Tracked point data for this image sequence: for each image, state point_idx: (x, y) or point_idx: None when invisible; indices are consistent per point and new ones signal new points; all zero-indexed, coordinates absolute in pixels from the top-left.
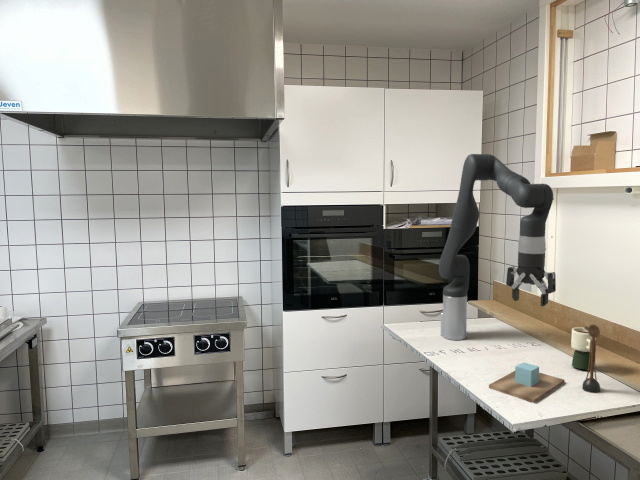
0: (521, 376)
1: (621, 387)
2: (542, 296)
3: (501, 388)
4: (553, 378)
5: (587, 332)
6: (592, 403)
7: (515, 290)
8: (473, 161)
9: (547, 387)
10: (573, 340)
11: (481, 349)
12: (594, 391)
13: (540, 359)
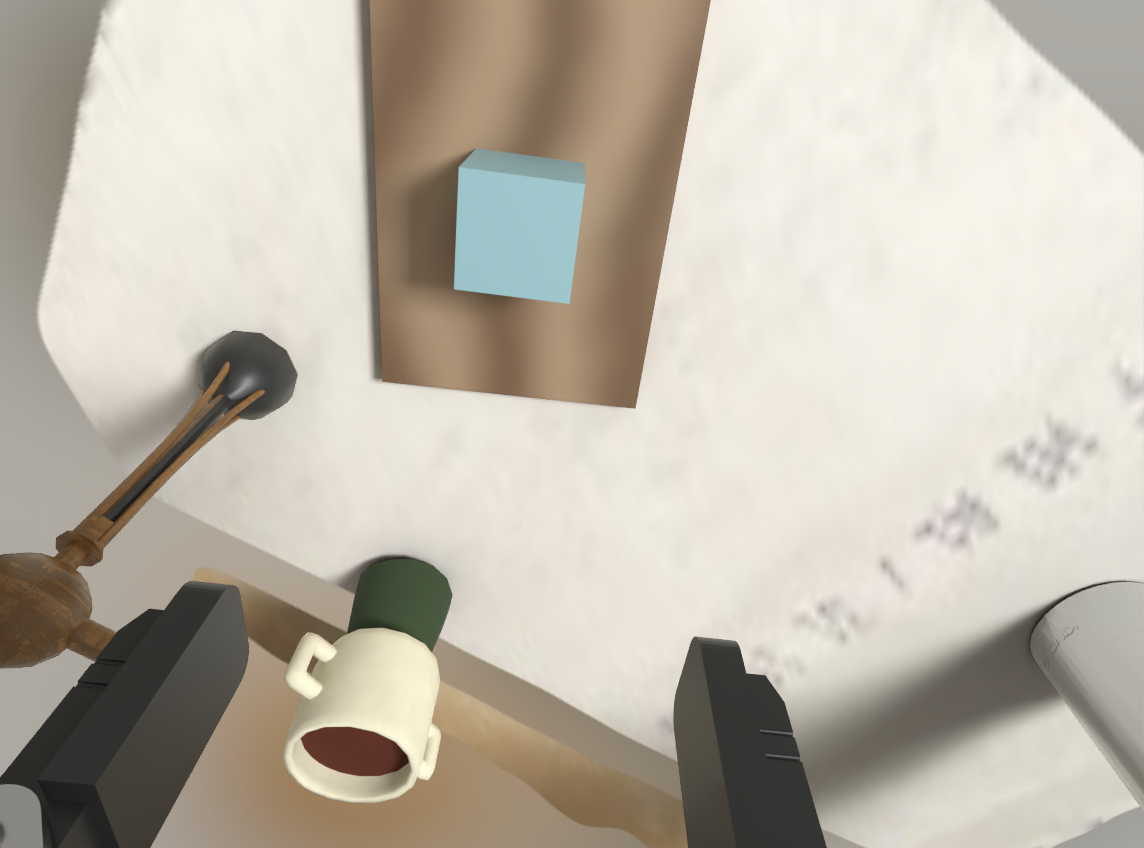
0: (538, 166)
1: (178, 477)
2: (85, 734)
3: None
4: (432, 361)
5: (357, 771)
6: (152, 192)
7: (741, 827)
8: None
9: (399, 210)
10: (403, 678)
11: (913, 547)
12: (217, 342)
13: (601, 581)
